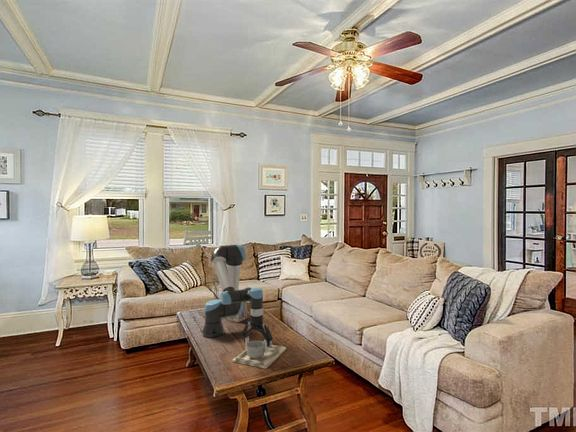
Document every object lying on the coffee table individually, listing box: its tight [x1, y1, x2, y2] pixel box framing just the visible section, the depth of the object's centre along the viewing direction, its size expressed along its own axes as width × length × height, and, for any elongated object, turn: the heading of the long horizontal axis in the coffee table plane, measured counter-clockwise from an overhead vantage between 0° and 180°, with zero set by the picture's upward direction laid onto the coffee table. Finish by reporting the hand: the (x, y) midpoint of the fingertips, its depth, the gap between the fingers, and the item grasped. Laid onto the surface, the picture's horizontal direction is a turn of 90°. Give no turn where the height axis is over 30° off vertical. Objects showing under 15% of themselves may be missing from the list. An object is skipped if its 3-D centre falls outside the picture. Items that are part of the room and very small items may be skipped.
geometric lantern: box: [211, 275, 222, 300], centre depth 281 cm, size 16×16×35 cm
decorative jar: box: [226, 301, 248, 323], centre depth 267 cm, size 12×12×18 cm
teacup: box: [246, 340, 266, 359], centre depth 197 cm, size 14×11×8 cm
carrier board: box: [232, 339, 287, 369], centre depth 201 cm, size 22×28×5 cm
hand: (257, 350), depth 198 cm, fingers open, 13 cm apart
